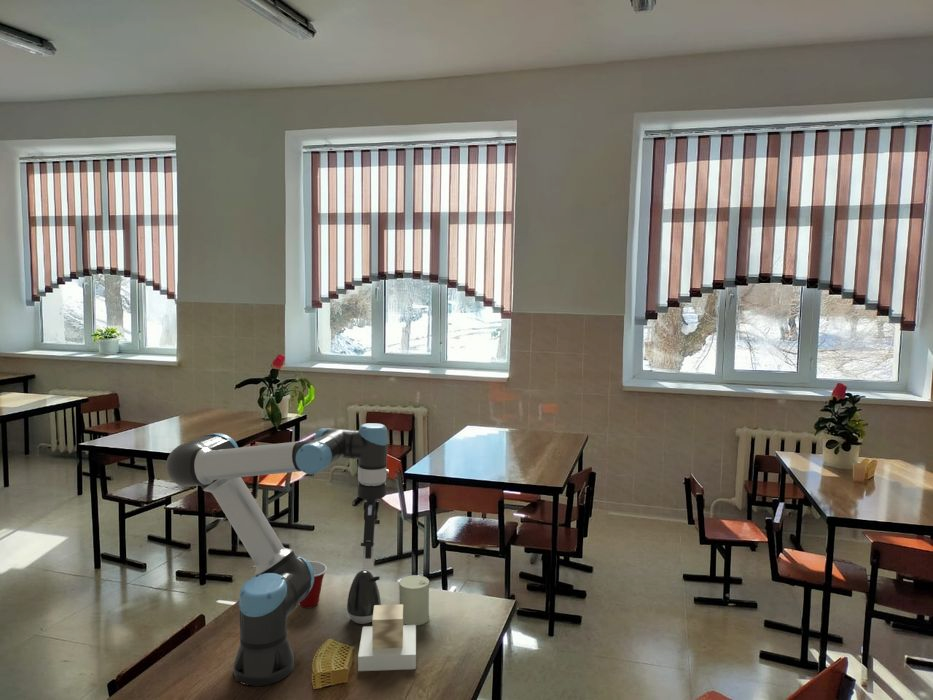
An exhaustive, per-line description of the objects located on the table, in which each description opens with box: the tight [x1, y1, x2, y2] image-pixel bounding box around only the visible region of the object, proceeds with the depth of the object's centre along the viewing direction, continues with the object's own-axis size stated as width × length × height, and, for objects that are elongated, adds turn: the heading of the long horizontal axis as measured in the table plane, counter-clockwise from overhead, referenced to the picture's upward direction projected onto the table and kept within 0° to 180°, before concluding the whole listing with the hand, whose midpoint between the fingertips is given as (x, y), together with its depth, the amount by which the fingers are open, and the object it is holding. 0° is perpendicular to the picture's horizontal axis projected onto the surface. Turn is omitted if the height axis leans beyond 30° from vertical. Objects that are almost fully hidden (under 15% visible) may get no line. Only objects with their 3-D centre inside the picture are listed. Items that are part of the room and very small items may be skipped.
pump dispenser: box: [346, 569, 382, 625], centre depth 191 cm, size 10×10×15 cm
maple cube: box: [371, 603, 404, 649], centre depth 173 cm, size 8×8×8 cm
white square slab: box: [357, 624, 417, 672], centre depth 174 cm, size 15×15×4 cm
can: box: [398, 574, 430, 627], centre depth 193 cm, size 9×9×12 cm
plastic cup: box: [299, 560, 327, 609], centre depth 201 cm, size 11×11×12 cm
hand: (369, 558), depth 173 cm, fingers open, 13 cm apart
